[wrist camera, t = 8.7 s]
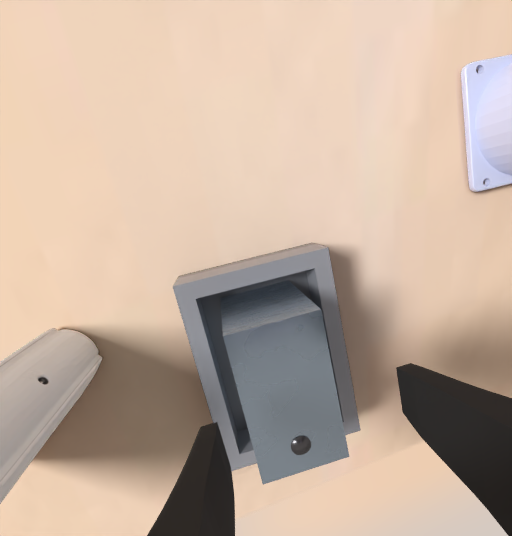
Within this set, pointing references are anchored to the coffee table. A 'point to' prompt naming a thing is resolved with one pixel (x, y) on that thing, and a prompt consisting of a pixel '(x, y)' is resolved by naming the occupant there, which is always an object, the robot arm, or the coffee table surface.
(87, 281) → the coffee table surface
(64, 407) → the photo printer
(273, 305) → the block
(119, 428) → the coffee table surface
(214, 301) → the lock cradle
